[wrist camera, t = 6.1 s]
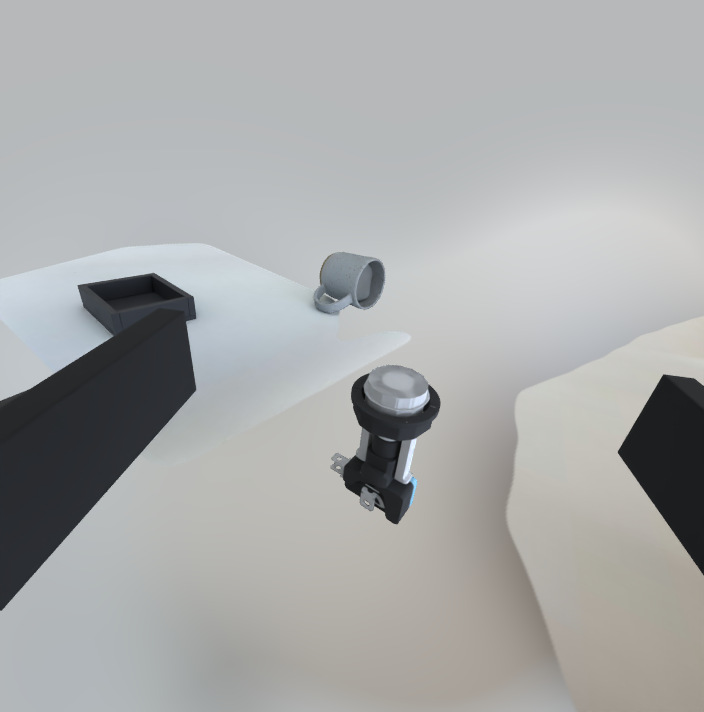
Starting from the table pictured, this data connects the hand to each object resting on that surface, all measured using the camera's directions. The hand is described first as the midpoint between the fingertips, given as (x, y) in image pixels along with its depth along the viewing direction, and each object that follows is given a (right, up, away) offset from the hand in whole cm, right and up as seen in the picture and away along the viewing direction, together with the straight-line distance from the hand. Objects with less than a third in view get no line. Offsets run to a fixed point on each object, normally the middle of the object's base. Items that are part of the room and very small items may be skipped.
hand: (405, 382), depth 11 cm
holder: (-30, +7, +38) cm, 49 cm away
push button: (0, -9, +16) cm, 19 cm away
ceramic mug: (-3, +9, +48) cm, 48 cm away
